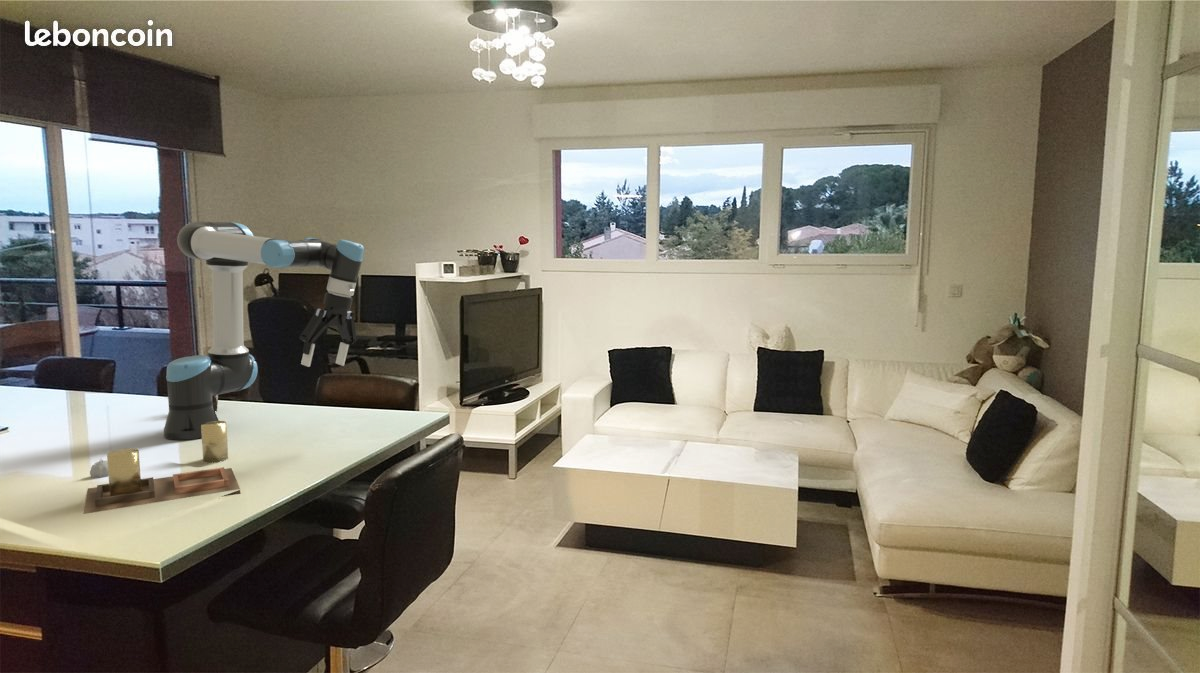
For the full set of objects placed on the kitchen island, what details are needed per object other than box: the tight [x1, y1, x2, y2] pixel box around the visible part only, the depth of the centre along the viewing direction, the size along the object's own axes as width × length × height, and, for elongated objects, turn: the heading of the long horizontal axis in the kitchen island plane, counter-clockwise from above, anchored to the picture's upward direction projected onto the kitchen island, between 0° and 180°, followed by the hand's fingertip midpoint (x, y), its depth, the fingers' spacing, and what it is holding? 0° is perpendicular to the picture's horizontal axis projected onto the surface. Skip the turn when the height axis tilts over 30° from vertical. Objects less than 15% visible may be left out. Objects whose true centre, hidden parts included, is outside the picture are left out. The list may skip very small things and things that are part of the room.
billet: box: [106, 447, 142, 496], centre depth 161 cm, size 6×6×10 cm
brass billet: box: [201, 420, 229, 464], centre depth 191 cm, size 6×6×10 cm
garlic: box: [89, 459, 109, 478], centre depth 175 cm, size 6×5×5 cm
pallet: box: [83, 466, 241, 515], centre depth 166 cm, size 30×18×3 cm, turn 123°
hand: (323, 365), depth 204 cm, fingers open, 13 cm apart
